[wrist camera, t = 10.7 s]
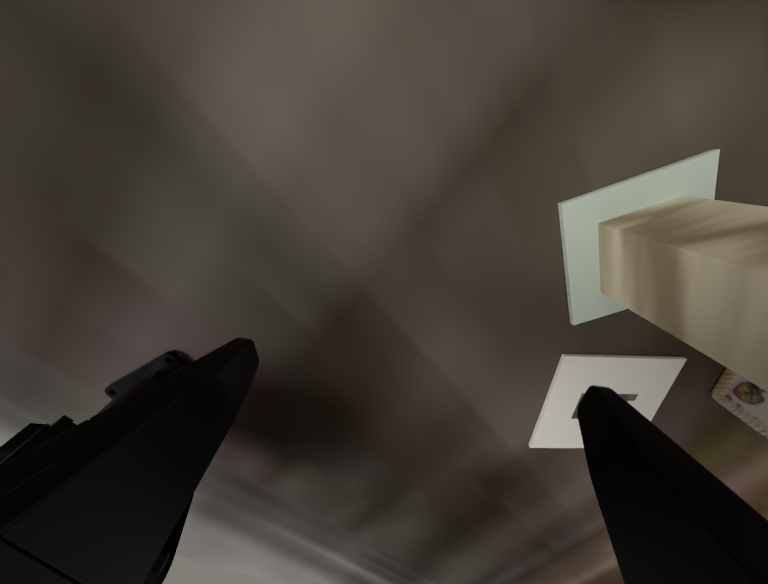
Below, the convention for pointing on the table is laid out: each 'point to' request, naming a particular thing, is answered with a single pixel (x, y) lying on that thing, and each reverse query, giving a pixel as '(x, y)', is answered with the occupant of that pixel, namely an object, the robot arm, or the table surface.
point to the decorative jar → (743, 400)
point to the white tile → (619, 372)
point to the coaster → (612, 202)
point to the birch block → (695, 276)
